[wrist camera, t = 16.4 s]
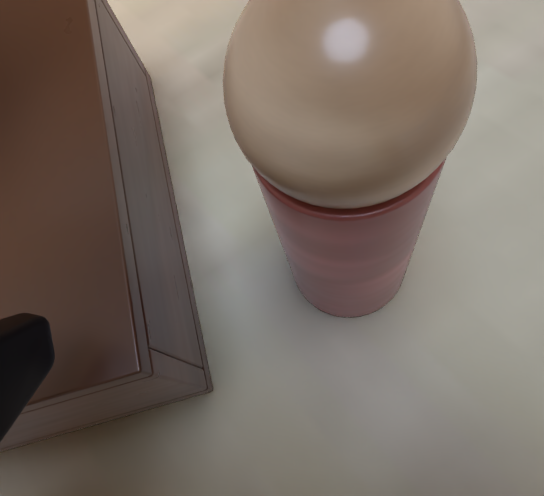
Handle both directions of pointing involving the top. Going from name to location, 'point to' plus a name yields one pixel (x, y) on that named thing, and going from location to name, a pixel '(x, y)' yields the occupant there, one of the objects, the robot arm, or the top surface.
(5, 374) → the robot arm
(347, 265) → the doll
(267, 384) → the top surface
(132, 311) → the cabinet
